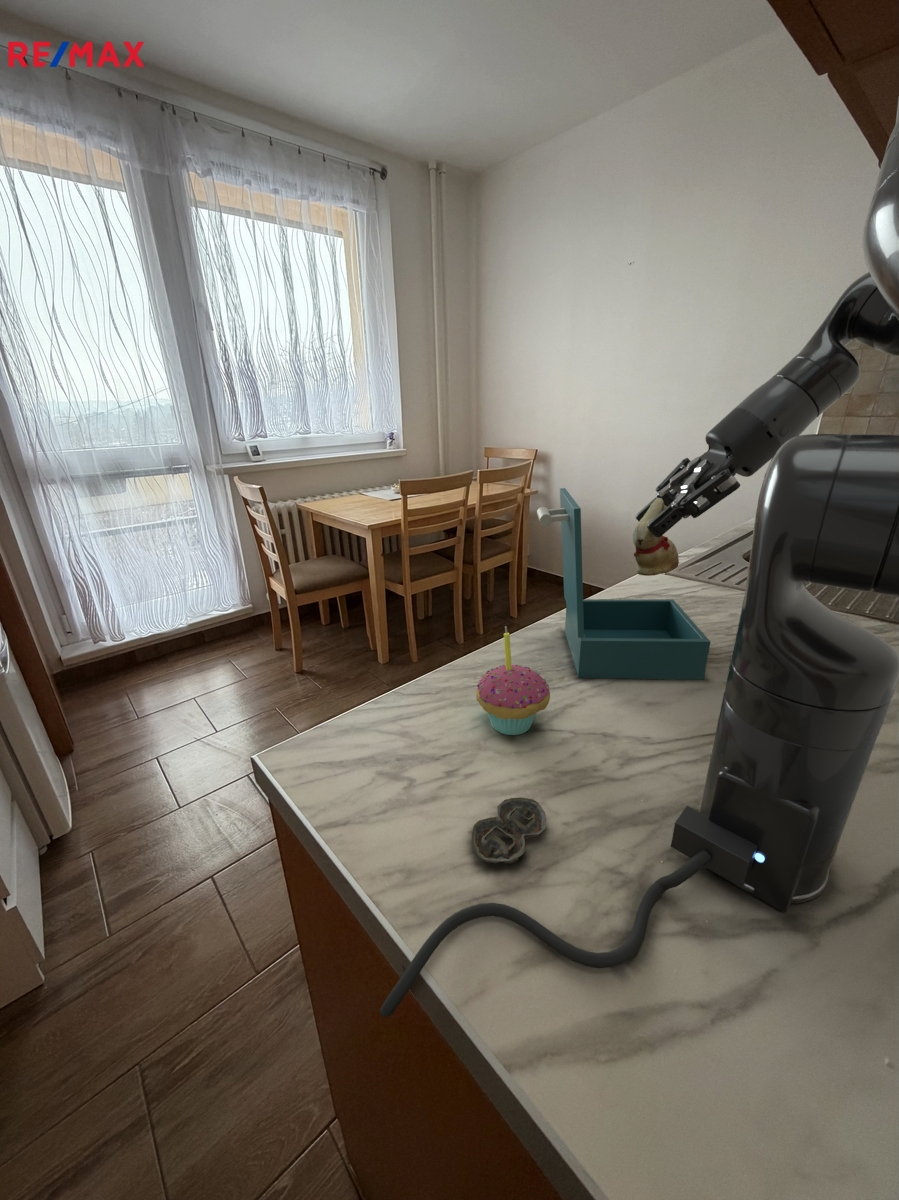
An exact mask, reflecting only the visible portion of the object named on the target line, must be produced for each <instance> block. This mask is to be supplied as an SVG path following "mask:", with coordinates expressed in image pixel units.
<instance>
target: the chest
mask: <svg viewBox="0 0 899 1200" xmlns="http://www.w3.org/2000/svg"><path fill="white" fill-rule="evenodd" d="M565 603H566V602H565ZM583 618H584V637H580V638H578V636H577V633H576V630H575V627H574V624H573V621H572V618H571V615H570V612H569V609H568V606H567V603H566V606H565V619H564V620H565V622H564V634H565V638H566V641H567V644H568V648H569V650H570V655H571V658H572V662H573V665H574V669H575V672H576V675H577V678H578V679H625V680H627V679H629V680H630V679H631V680H636V679H637V680H692V681H693V680H696V681H697V680H698V681H700V680H701V681H702V680H705V673H706V669H707V664H708V658H709V654H710V653H709V652H710V647H711V640H710V639H709V638H708V637H707V636H706V634H705V633H704V632H703V631H702V630H701V629H700V628H699V627H698V625H697V624H696V623H695V622H694V621H693V620H692V619H691V618H690V616H689V615H688V614H687V613H686V612H685V611H684V609H683V608H682V607H681V606H680V605H679V604H678V603H677V602H676V601H675V600H674V599H673V598H672V599H670V598H669V599H668V598H667V599H666V598H664V599H663V598H661V599H660V598H659V599H658V598H657V599H656V598H655V599H651V598H650V599H646V598H645V599H637V598H635V599H633V598H630V599H628V598H627V599H625V598H624V599H617V598H615V599H607V598H606V599H599V598H598V599H593V598H592V599H584V598H583Z"/></svg>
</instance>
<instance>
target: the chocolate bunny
mask: <svg viewBox="0 0 899 1200" xmlns="http://www.w3.org/2000/svg"><path fill="white" fill-rule="evenodd" d="M656 498H657V497H656ZM666 507H667V506H665V505H664V502H663V500H662V498H657V499H656V500H655V501H654V502H653V503H652V504H651V505H650V508H649V510H648V511H647V512H646V514H645V515H644V516H643V518H642V519H641V520H640V521H638V523H636V526H635V527H634V530H633V532H632V542H633V545H634V547H635V550H634V553H633V557H634V560H635V562H636V563H637V569H636V573H637V575H640V576H647V577H650V576H658V575H664V574H667V573H670V572H672V571H674V570H675V569H677V568H678V566H679V564H680V561H679V560H680V559H679V553H678V549H677V547H676V545H675V543H674V542H673V541H672V540H671V539H669V537H668V536H666V535H665V536H664V535H662V536H661V537H656V536H654V535H653V534H652V533H651V532H650V531H649V530H648V528H647V524H648V523H649V522H650V521H652V520H653V519H654V518H655V517H656V516H657V515H658V514H660V513H661V512H662V511H663V510H664V509H665V508H666Z"/></svg>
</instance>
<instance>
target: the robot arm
mask: <svg viewBox="0 0 899 1200" xmlns="http://www.w3.org/2000/svg"><path fill="white" fill-rule="evenodd" d="M862 251H863V258H864V261H865V266H866V267H867V270H868V272H866V273H864V274H862V275H861V276H860V277H858V278H857V279H856V280H854V281H853V282H852V283H851V284H849V286H848V287H847V288H846V289H845V290H844V292H843V293H842V294H841V295H840V296H839V298H838V299H837V301H836V302H835V304H834V305H833V307H832V308H831V310H830V311H829V313H828V314H827V316H826V317H825V318H824V320H823V321H822V323H821V324H820V325H819V327H817V328H816V330H815V332H814V333H813V334H812V336H811V337H810V338H809V340H808V341H807V342H806V344H805V345H804V346H803V347H802V348H801V350H800V351H799V352H798V353H797V354H796V355H795V356H794V357H793V358H792V359H791V360H789V361H788V362H787V363H786V364H785V365H784V366H783V367H781V369H779V370H778V371H777V372H776V373H775V374H774V375H773V376H772V377H771V378H769V379H768V380H767V381H766V382H763V384H761V385H760V386H758V387H757V388H755V390H753V391H752V392H751V393H750V394H748V395H747V396H746V397H745V398H744V399H743V400H742V401H741V402H740V403H739V404H737V405H736V406H735V407H734V408H733V409H732V410H731V411H730V412H729V413H727V415H726V416H724V417H723V418H722V419H721V420H720V421H719V422H718V423H717V424H716V425H715V426H713V427H712V428H711V429H710V430H709V431H707V433H706V434H705V443H706V445H708V449H707V451H705V452H704V453H703V454H701V455H700V456H697V457H695V458H693V459H692V460H691V459H689V457H685V458H684V459H682V460H681V461H680V462H679V464H678V465H677V466H676V467H675V468H673V470H671V472H670V473H669V474H667V476H666V477H665V478H664V479H663V480H662V481H661V483H660V484H659V485H657V486H656V488H655V491H656V494H655V497H654V498H653V499H652V500H651V501H649V503H647V504H646V505H645V506H644V507H643V508H642V509H641V510H640V511H638V512H637V513H636V514H635V520H636V521H638V522H639V521H640V520H641V519H642V518H643V516H644V515H645V514H646V512H647V511H648V510H649V508H650V505H651V504H652V503H653V502H654V501H655V500H656V499H657V498H662V500H663V502H664V505H665V506H667V507H666V508H665V509H664V510H663V511H662V512H661V513H660V514H658V515H657V516H656V517H655V518H654V519H653V520H652V521H650V522H649V523H648V524H647V528H648V530H649V531H650V532H651V533H652V534H653V535H654V536H656V537H661V536H664V535H665V533H667V532H668V531H669V530H671V528H673V527H674V526H675V525H676V524H677V523H679V522H680V521H681V520H682V519H688V518H690V516H691V517H692V518H693V519H697V518H698V517H700V516H701V515H702V514H704V513H706V512H707V511H708V510H710V509H712V508H713V507H714V506H715V505H717V504H719V503H720V502H721V501H723V500H724V499H726V498H727V497H729V496H730V495H731V494H733V493H734V492H735V491H737V490H738V489H739V488H740V487H741V484H740V482H739V481H738V480H737V479H736V477H735V475H738V476H741V477H745V478H749V477H751V476H753V475H754V474H756V473H757V472H758V471H759V470H760V469H762V467H764V466H765V465H766V464H767V463H769V464H768V466H767V469H766V471H765V473H764V476H763V480H762V483H761V486H760V487H761V488H760V490H759V495H758V499H757V504H756V511H755V517H754V524H753V531H752V539H751V546H750V553H749V561H748V570H747V576H746V582H745V590H744V596H743V600H742V606H741V610H740V615H739V620H738V626H737V629H736V630H737V631H736V636H735V641H734V644H733V650H732V655H731V659H730V664H729V667H728V673H727V678H726V681H725V682H726V683H725V688H724V691H723V695H722V701H721V705H720V711H719V715H718V720H717V726H716V730H715V735H714V739H713V745H712V749H711V754H710V759H709V764H708V768H707V773H706V778H705V783H704V788H703V793H702V798H701V805H700V808H699V810H697V809H694V808H693V807H690V806H689V805H686V806H685V807H684V809H683V810H682V812H681V813H680V814H679V816H678V818H677V819H676V820H675V822H674V826H673V832H672V837H671V843H670V847H671V848H672V849H674V850H676V851H677V852H678V853H681V854H682V855H684V856H686V857H687V858H689V860H688V861H686V862H685V863H684V864H682V865H681V866H680V867H678V868H677V869H675V870H674V871H673V872H671V873H669V874H667V875H664V876H661V877H659V878H658V879H657V880H656V881H654V882H653V883H652V885H651V886H649V888H648V889H647V891H646V892H645V893H644V895H643V897H642V899H641V901H640V903H639V906H638V908H637V911H636V915H635V917H634V921H633V925H632V929H631V931H630V934H629V936H628V938H627V940H626V941H625V942H624V943H623V945H621V946H620V947H618V948H617V949H613V950H610V951H605V952H604V951H603V952H594V951H588V950H584V949H582V948H579V947H577V946H575V945H573V944H571V943H570V942H567V941H565V939H564V938H563V939H562V938H561V937H560V936H559V935H557V934H555V933H554V932H552V930H549V929H548V928H547V927H546V926H544V925H542V923H540V922H539V921H537V920H535V919H534V918H532V917H531V916H530V915H528V914H526V913H525V912H523V911H521V910H519V909H517V908H515V907H513V906H510V905H507V904H505V903H499V902H486V903H485V902H484V903H478V904H475V905H474V904H473V905H470V906H467V907H465V908H462V909H461V910H458V911H456V912H454V913H453V914H451V915H450V916H449V917H447V918H446V919H445V920H444V921H442V923H441V924H439V925H438V926H437V928H435V929H434V931H432V932H431V934H430V935H429V936H428V938H427V939H426V940H425V942H424V943H423V944H422V945H421V947H420V949H419V950H418V952H416V954H415V956H414V957H413V958H412V960H411V961H410V963H409V964H408V966H407V968H406V969H405V970H404V972H403V974H402V975H401V977H400V978H399V980H398V981H397V983H396V984H395V985H394V986H393V988H392V990H391V991H390V992H389V994H388V995H387V997H386V999H385V1001H384V1002H383V1004H382V1005H381V1007H380V1009H379V1012H380V1013H379V1014H380V1015H381V1016H382V1017H383V1018H389V1017H390V1016H392V1015H393V1014H394V1013H395V1011H396V1010H397V1008H398V1007H399V1005H400V1004H401V1002H402V1001H403V1000H404V998H405V996H406V995H407V993H408V992H409V990H410V989H411V987H412V986H413V984H414V983H415V982H416V980H417V978H418V977H419V975H420V973H421V972H422V970H424V969H423V968H424V967H425V966H426V964H427V963H428V961H429V960H430V958H431V957H432V956H433V954H434V953H435V951H436V950H437V948H438V947H439V945H441V943H442V942H443V941H444V940H445V939H446V938H447V937H448V936H449V935H450V934H451V933H452V932H453V931H455V930H456V929H457V928H459V927H461V926H462V925H464V924H466V923H468V922H471V921H473V920H476V919H480V918H486V917H487V918H488V917H497V918H503V919H505V920H508V921H511V922H512V923H514V924H516V925H518V926H520V927H522V928H523V929H524V930H526V931H527V932H529V933H530V934H532V935H533V936H534V937H536V938H537V939H538V940H540V941H541V942H543V943H544V944H545V945H547V946H548V947H549V948H551V949H552V950H554V951H555V952H557V953H558V954H559V955H561V956H563V957H565V958H566V959H568V960H570V961H572V962H574V963H576V964H579V965H582V966H584V967H588V968H593V969H606V968H608V969H610V968H615V967H617V966H621V965H624V964H625V963H626V962H627V961H629V960H631V959H632V958H633V957H634V956H635V955H636V954H637V953H638V951H639V950H640V947H641V946H642V944H643V941H644V939H645V935H646V930H647V927H648V922H649V918H650V915H651V912H652V909H653V908H654V907H655V904H656V903H657V901H658V900H659V898H660V897H661V896H662V895H663V894H664V893H665V892H666V891H667V890H669V889H673V888H674V889H675V888H676V887H679V886H680V885H682V884H683V883H686V881H687V880H689V879H690V878H691V877H693V876H694V875H696V874H697V873H698V872H699V871H700V870H702V869H703V868H706V869H708V870H709V871H711V872H712V873H715V874H716V875H718V876H720V877H722V878H723V879H725V880H727V881H728V882H730V883H732V884H733V885H735V886H736V887H738V888H740V889H742V890H743V891H745V892H747V893H748V894H751V895H753V896H754V897H756V898H757V899H759V900H761V901H763V902H764V903H766V904H768V905H770V906H772V907H773V908H775V909H776V910H778V911H780V912H782V913H786V912H787V911H788V909H789V907H790V905H791V904H803V903H806V902H810V901H812V900H814V899H816V898H817V897H819V896H820V895H821V894H822V893H823V891H824V890H825V888H826V885H827V883H828V880H829V876H830V875H829V873H830V869H831V866H832V864H833V861H834V858H835V856H836V853H837V851H838V846H839V844H840V841H841V838H842V836H843V833H844V830H845V827H846V825H847V821H848V819H849V816H850V813H851V811H852V808H853V805H854V803H855V801H856V798H857V794H858V791H859V788H860V785H861V783H862V780H863V777H864V775H865V772H866V769H867V766H868V763H869V761H870V759H871V755H872V754H873V753H872V752H873V750H874V748H875V744H876V742H877V739H878V737H879V735H880V732H881V729H882V726H883V724H884V721H885V718H886V715H887V712H888V710H889V707H890V704H891V701H892V698H893V696H894V693H895V691H896V688H897V685H898V682H899V654H898V653H897V651H896V650H895V648H894V647H893V646H892V645H891V644H890V643H888V642H887V641H886V640H885V639H884V638H882V637H881V636H880V635H878V634H876V633H875V632H872V631H871V630H869V629H868V628H866V627H864V626H861V625H860V624H858V623H856V622H854V621H852V620H850V619H847V618H846V617H844V616H842V615H840V614H839V613H837V612H835V611H834V610H832V609H830V608H829V607H827V606H826V605H825V604H824V603H822V602H821V601H820V600H818V599H817V598H816V597H815V596H814V595H813V594H812V593H811V592H810V591H809V590H808V589H807V587H806V584H805V583H807V584H814V585H820V586H826V587H832V588H838V589H845V590H851V591H857V592H864V593H871V592H872V594H875V595H882V596H887V597H895V598H899V434H893V433H892V434H891V433H890V434H887V433H881V434H880V433H878V434H877V433H851V434H850V433H814V434H813V433H811V434H803V432H805V430H807V428H808V427H809V426H810V425H811V424H812V423H813V422H814V421H815V420H816V419H817V418H818V417H819V416H821V415H822V414H823V413H824V412H825V411H827V410H828V409H829V408H830V407H832V405H834V404H835V403H836V402H837V401H839V400H840V399H841V398H842V397H844V395H845V394H846V393H848V392H849V391H850V390H851V389H852V388H854V386H855V385H856V384H857V383H858V382H859V380H860V376H861V366H860V363H859V361H858V360H857V358H856V357H855V356H854V355H853V354H852V352H851V351H850V350H849V349H848V348H847V347H846V346H848V345H849V344H850V343H851V342H852V341H854V342H857V343H860V344H862V345H864V346H867V347H870V348H872V349H874V350H877V351H879V352H881V353H884V354H886V355H890V356H893V357H899V97H898V100H897V108H896V118H895V125H894V127H893V129H892V131H891V133H890V136H889V137H888V141H887V144H886V147H885V151H884V155H883V158H882V162H881V165H880V169H879V172H878V175H877V179H876V183H875V186H874V190H873V193H872V197H871V201H870V203H869V207H868V211H867V215H866V218H865V222H864V226H863V230H862Z"/></svg>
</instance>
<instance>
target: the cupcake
mask: <svg viewBox="0 0 899 1200" xmlns="http://www.w3.org/2000/svg"><path fill="white" fill-rule="evenodd" d="M504 631H505V632H504V633H503V641H504V656H505V657H504V659H505V664H502V665H499V666H496V667H494V668H490V669H489V670H487V671H486V672H485V673H484V674H483V675H481V678H480V679H478V681H479V682H478V683H477V687H476V693H475V698H476V701H477V702H478V704H479V705H480V707H482V709H483V711H484V712H486V713H487V715H488V718H489V721H490V724H491V726H492V728H493V729H494V730H495V731H496V732H498V733H500V734H502V735H507V736H518V735H522V734H524V733H526V732H527V731H529V730H530V729H531V727H532V724H533V722H534V719H535V717H536V715H537V713H539V712H540V711H542V710H545V709H547V707H548V705H549V703H550V699H551V692H550V685H549V684H548V683H547V680H546V678H543V676H541V675H540V673H538V671H537V670H534V669H531V668H530V667H527V666H523V665H518V664H512V653H511V652H512V650H511V637H510V636H511V634H510V632H508V627H507V626H506V625H505V626H504Z"/></svg>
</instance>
